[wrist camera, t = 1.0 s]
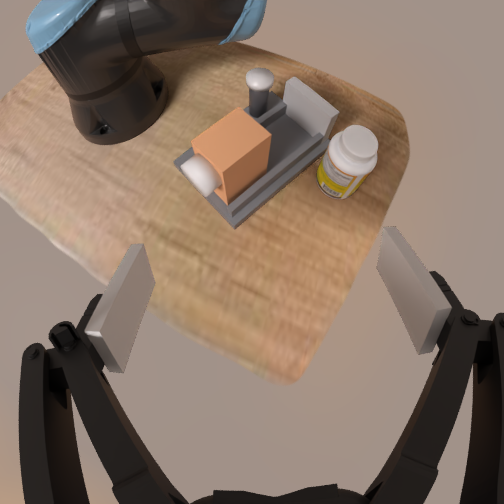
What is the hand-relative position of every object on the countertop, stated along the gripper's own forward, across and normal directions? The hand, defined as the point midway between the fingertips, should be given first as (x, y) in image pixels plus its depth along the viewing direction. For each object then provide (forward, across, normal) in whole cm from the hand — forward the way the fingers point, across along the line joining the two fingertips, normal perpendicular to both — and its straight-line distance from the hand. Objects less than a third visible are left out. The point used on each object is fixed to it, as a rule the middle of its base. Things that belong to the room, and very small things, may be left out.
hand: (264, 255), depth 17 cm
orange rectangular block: (+21, -4, -3) cm, 21 cm away
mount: (+25, -1, -1) cm, 25 cm away
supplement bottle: (+23, +10, -5) cm, 26 cm away
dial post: (+29, 0, +4) cm, 29 cm away
